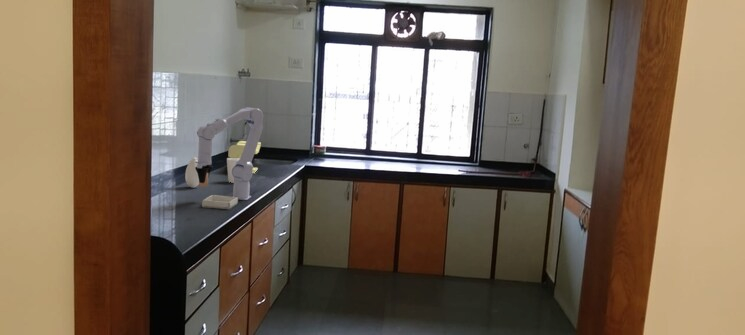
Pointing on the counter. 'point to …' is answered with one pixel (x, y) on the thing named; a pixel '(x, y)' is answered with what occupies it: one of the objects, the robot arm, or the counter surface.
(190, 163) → the white tall oval piece
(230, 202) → the tray
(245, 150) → the robot arm
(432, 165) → the counter surface
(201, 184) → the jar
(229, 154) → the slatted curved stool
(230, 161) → the foam cup
